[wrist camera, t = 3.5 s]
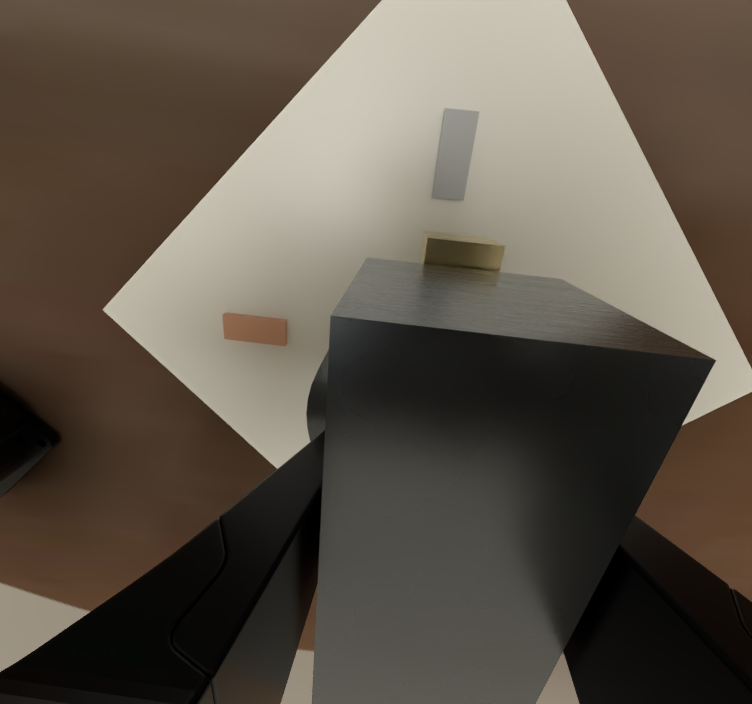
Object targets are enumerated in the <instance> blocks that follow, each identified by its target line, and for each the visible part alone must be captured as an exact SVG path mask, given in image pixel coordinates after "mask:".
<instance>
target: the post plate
mask: <svg viewBox="0 0 752 704" xmlns="http://www.w3.org/2000/svg"><path fill="white" fill-rule="evenodd" d="M424 230H425V231H434V232H444V233H453V234H462V235H471V236H481V237H488V238H490V239H492V240H494V241H496V242H498V243H500V244H502V245H504V246H506V247H505V251H504V255H503V259H502V264H501V268H500V272H503V273H512V274H521V275H530V276H539V277H548V278H557V279H562V280H564V281H566V282H568V283H570V284H572V285H574V286H575V287H577V288H579V289H581V290H583V291H585V292H587V293H589V294H591V295H593V296H595V297H596V298H598V299H600V300H602V301H604V302H606V303H608V304H610V305H612V306H614V307H615V308H617V309H619V310H621V311H623V312H625V313H627V314H629V315H631V316H633V317H635V318H636V319H638V320H640V321H642V322H644V323H646V324H648V325H650V326H652V327H654V328H656V329H657V330H659V331H661V332H663V333H665V334H667V335H669V336H671V337H673V338H675V339H677V340H678V341H680V342H682V343H684V344H686V345H688V346H690V347H692V348H694V349H696V350H697V351H699V352H701V353H703V354H705V355H707V356H709V357H711V358H713V359H715V360H716V362H715V364H714V365H713V367H712V369H711V371H710V373H709V375H708V377H707V379H706V381H705V383H704V384H703V386H702V388H701V390H700V392H699V394H698V396H697V398H696V400H695V402H694V403H693V405H692V407H691V409H690V411H689V413H688V415H687V417H686V419H685V421H684V422H683V424H682V425H684V424H686V423H688V422H690V421H692V420H694V419H696V418H699V417H701V416H703V415H705V414H707V413H709V412H711V411H713V410H715V409H717V408H719V407H721V406H723V405H725V404H727V403H729V402H732V401H734V400H736V399H738V398H740V397H742V396H744V395H746V394H748V393H750V392H752V369H751V367H750V365H749V363H748V361H747V359H746V357H745V355H744V353H743V351H742V349H741V347H740V345H739V343H738V341H737V339H736V337H735V335H734V333H733V331H732V329H731V327H730V325H729V323H728V321H727V319H726V317H725V315H724V313H723V311H722V309H721V307H720V305H719V303H718V301H717V299H716V297H715V295H714V293H713V291H712V289H711V287H710V285H709V283H708V281H707V279H706V277H705V275H704V273H703V271H702V269H701V267H700V265H699V263H698V261H697V259H696V257H695V255H694V253H693V251H692V249H691V247H690V246H689V244H688V242H687V240H686V238H685V236H684V234H683V232H682V230H681V228H680V226H679V224H678V222H677V220H676V218H675V216H674V214H673V212H672V210H671V208H670V206H669V204H668V202H667V200H666V198H665V196H664V194H663V192H662V190H661V188H660V186H659V184H658V182H657V180H656V178H655V176H654V174H653V172H652V170H651V168H650V166H649V164H648V162H647V160H646V158H645V156H644V154H643V152H642V150H641V148H640V146H639V144H638V142H637V140H636V138H635V136H634V134H633V132H632V130H631V128H630V126H629V124H628V122H627V120H626V118H625V116H624V114H623V112H622V110H621V108H620V106H619V104H618V102H617V100H616V99H615V97H614V95H613V93H612V91H611V89H610V87H609V85H608V83H607V81H606V79H605V77H604V75H603V73H602V71H601V69H600V67H599V65H598V63H597V61H596V59H595V57H594V55H593V53H592V51H591V49H590V47H589V45H588V43H587V41H586V39H585V37H584V35H583V33H582V31H581V29H580V27H579V25H578V23H577V21H576V19H575V17H574V15H573V13H572V11H571V9H570V7H569V5H568V3H567V1H566V0H382V1H381V2H380V3H379V4H378V5H377V6H376V7H375V8H374V10H373V11H372V12H371V13H370V14H369V15H368V16H367V17H366V18H365V20H364V21H363V22H362V23H361V24H360V25H359V26H358V27H357V28H356V30H355V31H354V32H353V33H352V34H351V35H350V36H349V37H348V38H347V40H346V41H345V42H344V43H343V44H342V45H341V46H340V47H339V48H338V49H337V51H336V52H335V53H334V54H333V55H332V56H331V57H330V58H329V59H328V61H327V62H326V63H325V64H324V65H323V66H322V67H321V68H320V69H319V71H318V72H317V73H316V74H315V75H314V76H313V77H312V78H311V79H310V81H309V82H308V83H307V84H306V85H305V86H304V87H303V88H302V89H301V90H300V92H299V93H298V94H297V95H296V96H295V97H294V98H293V99H292V100H291V102H290V103H289V104H288V105H287V106H286V107H285V108H284V109H283V110H282V112H281V113H280V114H279V115H278V116H277V117H276V118H275V119H274V120H273V121H272V123H271V124H270V125H269V126H268V127H267V128H266V129H265V130H264V131H263V133H262V134H261V135H260V136H259V137H258V138H257V139H256V140H255V141H254V143H253V144H252V145H251V146H250V147H249V148H248V149H247V150H246V151H245V153H244V154H243V155H242V156H241V157H240V158H239V159H238V160H237V161H236V162H235V164H234V165H233V166H232V167H231V168H230V169H229V170H228V171H227V172H226V174H225V175H224V176H223V177H222V178H221V179H220V180H219V181H218V182H217V184H216V185H215V186H214V187H213V188H212V189H211V190H210V191H209V192H208V194H207V195H206V196H205V197H204V198H203V199H202V200H201V201H200V202H199V203H198V205H197V206H196V207H195V208H194V209H193V210H192V211H191V212H190V213H189V215H188V216H187V217H186V218H185V219H184V220H183V221H182V222H181V223H180V225H179V226H178V227H177V228H176V229H175V230H174V231H173V232H172V233H171V234H170V236H169V237H168V238H167V239H166V240H165V241H164V242H163V243H162V244H161V246H160V247H159V248H158V249H157V250H156V251H155V252H154V253H153V254H152V256H151V257H150V258H149V259H148V260H147V261H146V262H145V263H144V264H143V266H142V267H141V268H140V269H139V270H138V271H137V272H136V273H135V274H134V275H133V277H132V278H131V279H130V280H129V281H128V282H127V283H126V284H125V285H124V287H123V288H122V289H121V290H120V291H119V292H118V293H117V294H116V295H115V297H114V298H113V299H112V300H111V301H110V302H109V303H108V304H107V305H106V307H105V308H104V309H103V311H104V312H105V313H107V314H108V315H109V316H110V317H111V318H112V319H113V320H114V321H115V322H116V323H118V324H119V325H120V326H121V327H122V328H123V329H124V330H125V331H126V332H127V333H128V334H130V335H131V336H132V337H133V338H134V339H135V340H136V341H137V342H138V343H139V344H141V345H142V346H143V347H144V348H145V349H146V350H147V351H148V352H149V353H150V354H152V355H153V356H154V357H155V358H156V359H157V360H158V361H159V362H160V363H161V364H163V365H164V366H165V367H166V368H167V369H168V370H169V371H170V372H171V373H172V374H174V375H175V376H176V377H177V378H178V379H179V380H180V381H181V382H182V383H183V384H185V385H186V386H187V387H188V388H189V389H190V390H191V391H192V392H193V393H194V394H196V395H197V396H198V397H199V398H200V399H201V400H202V401H203V402H204V403H205V404H207V405H208V406H209V407H210V408H211V409H212V410H213V411H214V412H215V413H216V414H218V415H219V416H220V417H221V418H222V419H223V420H224V421H225V422H226V423H227V424H229V425H230V426H231V427H232V428H233V429H234V430H235V431H236V432H237V433H238V434H240V435H241V436H242V437H243V438H244V439H245V440H246V441H247V442H248V443H249V444H250V445H252V446H253V447H254V448H255V449H256V450H257V451H258V452H259V453H260V454H261V455H263V456H264V457H265V458H266V459H267V460H268V461H269V462H270V463H271V464H272V465H274V466H275V467H276V468H277V469H278V468H279V467H280V466H282V465H283V464H284V463H285V462H287V461H288V460H289V459H290V458H291V457H293V456H294V455H295V454H296V453H297V452H299V451H300V450H301V449H302V448H304V447H305V446H306V445H307V444H308V443H310V438H309V433H308V428H307V415H306V412H307V402H308V396H309V392H310V388H311V385H312V382H313V380H314V378H315V375H316V373H317V371H318V369H319V367H320V365H321V363H322V361H323V359H324V357H325V355H326V353H327V351H328V349H329V337H330V316H331V314H332V312H333V311H334V309H335V308H336V306H337V304H338V303H339V301H340V300H341V298H342V296H343V295H344V293H345V292H346V290H347V289H348V287H349V285H350V284H351V282H352V281H353V279H354V277H355V276H356V274H357V273H358V271H359V269H360V268H361V266H362V265H363V263H364V261H365V260H366V258H376V259H385V260H394V261H403V262H412V263H419V259H420V252H421V245H422V238H423V231H424Z"/></svg>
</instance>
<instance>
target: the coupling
mask: <svg viewBox="0 0 752 704" xmlns="http://www.w3.org/2000/svg"><path fill="white" fill-rule="evenodd" d="M505 247H506V246H504V245H502V244H500V243H498V242H496V241H494V240H492V239H490V238H488V237H481V236H471V235H462V234H453V233H444V232H434V231H425V230H424V231H423V238H422V245H421V252H420V259H419V263H412V262H403V261H394V260H385V259H376V258H366V260H365V261H364V263H363V265H362V266H361V268H360V269H359V271H358V273H357V274H356V276H355V277H354V279H353V281H352V282H351V284H350V285H349V287H348V289H347V290H346V292H345V293H344V295H343V296H342V298H341V300H340V301H339V303H338V304H337V306H336V308H335V309H334V311H333V312H332V314H331V316H330V337H329V349H328V351H327V353H326V355H325V357H324V359H323V361H322V363H321V365H320V367H319V369H318V371H317V373H316V375H315V378H314V380H313V382H312V385H311V388H310V392H309V396H308V402H307V412H306V415H307V428H308V433H309V438H310V442H311V441H312V440H313V439H314V438H316V437H317V436H318V435H319V434H320V433H322V432H323V431H324V430H325V441H324V462H323V482H322V503H321V524H320V545H319V566H318V587H317V607H316V628H315V649H314V670H313V691H312V704H535V703H536V702H537V700H538V698H539V696H540V694H541V692H542V690H543V688H544V686H545V684H546V683H547V681H548V679H549V677H550V675H551V673H552V671H553V669H554V667H555V665H556V664H557V662H558V660H559V658H560V656H561V654H562V652H563V650H564V648H565V647H566V645H567V643H568V641H569V639H570V637H571V635H572V633H573V631H574V629H575V628H576V626H577V624H578V622H579V620H580V618H581V616H582V614H583V612H584V610H585V609H586V607H587V605H588V603H589V601H590V599H591V597H592V595H593V593H594V592H595V590H596V588H597V586H598V584H599V582H600V580H601V578H602V576H603V574H604V573H605V571H606V569H607V567H608V565H609V563H610V561H611V559H612V557H613V555H614V554H615V552H616V550H617V548H618V546H619V544H620V542H621V540H622V538H623V536H624V535H625V533H626V531H627V529H628V527H629V525H630V523H631V521H632V519H633V517H634V516H635V514H636V512H637V510H638V508H639V506H640V504H641V502H642V500H643V498H644V497H645V495H646V493H647V491H648V489H649V487H650V485H651V483H652V481H653V479H654V478H655V476H656V474H657V472H658V470H659V468H660V466H661V464H662V462H663V460H664V459H665V457H666V455H667V453H668V451H669V449H670V447H671V445H672V443H673V441H674V440H675V438H676V436H677V434H678V432H679V430H680V428H681V426H682V424H683V422H684V421H685V419H686V417H687V415H688V413H689V411H690V409H691V407H692V405H693V403H694V402H695V400H696V398H697V396H698V394H699V392H700V390H701V388H702V386H703V384H704V383H705V381H706V379H707V377H708V375H709V373H710V371H711V369H712V367H713V365H714V364H715V362H716V360H715V359H713V358H711V357H709V356H707V355H705V354H703V353H701V352H699V351H697V350H696V349H694V348H692V347H690V346H688V345H686V344H684V343H682V342H680V341H678V340H677V339H675V338H673V337H671V336H669V335H667V334H665V333H663V332H661V331H659V330H657V329H656V328H654V327H652V326H650V325H648V324H646V323H644V322H642V321H640V320H638V319H636V318H635V317H633V316H631V315H629V314H627V313H625V312H623V311H621V310H619V309H617V308H615V307H614V306H612V305H610V304H608V303H606V302H604V301H602V300H600V299H598V298H596V297H595V296H593V295H591V294H589V293H587V292H585V291H583V290H581V289H579V288H577V287H575V286H574V285H572V284H570V283H568V282H566V281H564V280H562V279H557V278H548V277H539V276H530V275H521V274H512V273H503V272H500V268H501V264H502V259H503V255H504V251H505Z"/></svg>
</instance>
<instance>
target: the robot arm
mask: <svg viewBox="0 0 752 704" xmlns="http://www.w3.org/2000/svg"><path fill="white" fill-rule="evenodd" d="M324 441H325V430H324V431H323V432H322V433H320V434H319V435H318V436H317V437H316V438H314V439H313V440H312V441H311V442H310V443H308V444H307V445H306V446H305V447H304V448H302V449H301V450H300V451H299V452H297V453H296V454H295V455H294V456H293V457H291V458H290V459H289V460H288V461H287V462H285V463H284V464H283V465H282V466H280V467H279V468H278V469H277V470H276V471H274V472H273V473H272V474H271V475H270V476H268V477H267V478H266V479H265V480H263V481H262V482H261V483H260V484H259V485H257V486H256V487H255V488H254V489H253V490H251V491H250V492H249V493H248V494H246V495H245V496H244V497H243V498H242V499H240V500H239V501H238V502H237V503H236V504H234V505H233V506H232V507H231V508H229V509H228V510H227V511H226V512H225V513H223V514H222V515H221V516H220V518H219V519H216V520H215V521H213V522H212V523H211V524H210V525H209V526H207V527H206V528H205V529H204V530H202V531H201V532H200V533H199V534H198V535H196V536H195V537H194V538H192V539H191V540H190V541H189V542H187V543H186V544H185V545H184V546H182V547H181V548H180V549H178V550H177V551H176V552H175V553H173V554H172V555H171V556H169V557H168V558H167V559H165V560H164V561H162V562H161V563H160V564H158V565H157V566H155V567H154V568H153V569H151V570H150V571H149V572H147V573H146V574H144V575H143V576H142V577H140V578H139V579H137V580H136V581H135V582H133V583H132V584H130V585H129V586H127V587H126V588H124V589H123V590H122V591H120V592H119V593H117V594H116V595H114V596H113V597H111V598H110V599H109V600H107V601H106V602H104V603H103V604H101V605H100V606H98V607H97V608H95V609H94V610H93V611H91V612H90V613H88V614H87V615H86V616H84V617H83V618H81V619H80V620H78V621H77V622H75V623H74V624H72V625H71V626H69V627H68V628H67V629H65V630H64V631H62V632H61V633H59V634H58V635H56V636H55V637H54V638H52V639H51V640H49V641H48V642H46V643H45V644H43V645H42V646H40V647H39V648H38V649H36V650H35V651H33V652H32V653H30V654H28V655H27V656H25V657H24V658H22V659H21V660H19V661H18V662H16V663H15V664H13V665H11V666H10V667H8V668H6V669H5V670H3V671H1V672H0V704H280V703H281V700H282V697H283V694H284V690H285V687H286V684H287V680H288V677H289V674H290V671H291V667H292V664H293V661H294V658H295V655H296V651H297V648H298V645H299V642H300V638H301V635H302V632H303V629H304V625H305V622H306V619H307V616H308V612H309V609H310V606H311V603H312V599H313V596H314V593H315V590H316V586H317V583H318V566H319V545H320V524H321V503H322V482H323V462H324ZM57 444H58V438H57V436H56V435H55V434H54V433H53V432H51V431H50V430H49V429H48V428H46V427H45V426H44V425H42V424H41V423H40V422H38V421H37V420H36V419H35V418H33V417H32V416H31V415H29V414H28V413H27V412H25V411H24V410H23V409H22V408H20V407H19V406H18V405H16V404H15V403H14V402H12V401H11V400H10V399H9V398H7V397H6V396H5V395H3V394H2V393H1V392H0V497H2V496H3V495H4V494H6V493H7V492H8V491H9V490H10V489H11V488H12V487H14V486H15V485H16V484H17V483H18V482H19V481H20V480H21V479H22V478H23V477H24V476H25V475H26V474H27V473H28V472H29V471H30V470H31V469H32V468H33V467H34V466H35V465H36V464H37V463H38V462H39V461H40V460H41V459H43V458H44V457H45V456H46V455H47V454H48V453H49V452H50V451H51V450H52V449H53V448H54V447H55V446H56V445H57ZM563 652H564V655H565V658H566V661H567V665H568V668H569V671H570V674H571V677H572V681H573V684H574V687H575V690H576V694H577V697H578V700H579V703H580V704H752V602H751V601H750V600H748V599H747V598H746V597H744V596H743V595H742V594H740V593H739V592H738V591H736V590H735V589H730V588H729V585H728V584H727V583H725V582H724V581H723V580H721V579H720V578H719V577H717V576H716V575H715V574H713V573H712V572H711V571H709V570H708V569H707V568H705V567H704V566H703V565H701V564H700V563H699V562H697V561H696V560H695V559H693V558H692V557H691V556H689V555H688V554H687V553H685V552H684V551H682V550H681V549H680V548H678V547H677V546H676V545H674V544H673V543H672V542H670V541H669V540H668V539H666V538H665V537H664V536H662V535H661V534H660V533H658V532H657V531H656V530H654V529H653V528H652V527H650V526H649V525H648V524H646V523H645V522H644V521H642V520H641V519H640V518H638V517H637V516H636V515H635V516H634V517H633V519H632V521H631V523H630V525H629V527H628V529H627V531H626V533H625V535H624V536H623V538H622V540H621V542H620V544H619V546H618V548H617V550H616V552H615V554H614V555H613V557H612V559H611V561H610V563H609V565H608V567H607V569H606V571H605V573H604V574H603V576H602V578H601V580H600V582H599V584H598V586H597V588H596V590H595V592H594V593H593V595H592V597H591V599H590V601H589V603H588V605H587V607H586V609H585V610H584V612H583V614H582V616H581V618H580V620H579V622H578V624H577V626H576V628H575V629H574V631H573V633H572V635H571V637H570V639H569V641H568V643H567V645H566V647H565V648H564V650H563Z"/></svg>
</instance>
